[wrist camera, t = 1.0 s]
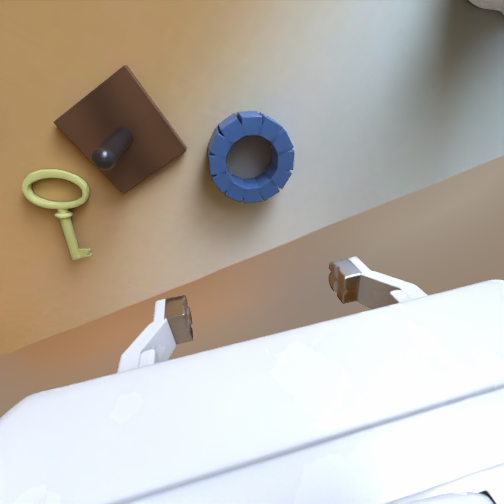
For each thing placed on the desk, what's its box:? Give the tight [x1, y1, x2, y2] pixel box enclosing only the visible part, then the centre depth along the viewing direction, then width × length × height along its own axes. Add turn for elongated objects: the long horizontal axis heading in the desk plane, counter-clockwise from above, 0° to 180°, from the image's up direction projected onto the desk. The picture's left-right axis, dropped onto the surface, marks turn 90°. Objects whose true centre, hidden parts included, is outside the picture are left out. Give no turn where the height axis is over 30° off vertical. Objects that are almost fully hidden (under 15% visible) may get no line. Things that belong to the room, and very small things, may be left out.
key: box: [21, 169, 92, 259], centre depth 37 cm, size 7×12×2 cm, turn 14°
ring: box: [208, 111, 294, 203], centre depth 35 cm, size 10×10×4 cm
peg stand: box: [54, 65, 187, 194], centre depth 29 cm, size 10×10×11 cm
